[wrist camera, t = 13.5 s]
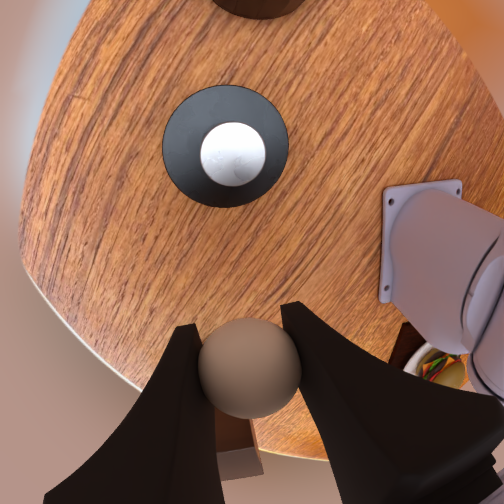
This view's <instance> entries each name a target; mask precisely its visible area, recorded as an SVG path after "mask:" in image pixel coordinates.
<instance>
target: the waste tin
mask: <svg viewBox="0 0 504 504" xmlns="http://www.w3.org/2000/svg"><path fill="white" fill-rule="evenodd" d="M213 1H214V2H215V3H216V4H217V5H218V6H220V7H221V8H223V9H224V10H226V11H228V12H230V13H232V14H235V15H237V16H241V17H245V18H250V19H272V18H277V17H281V16H284V15H286V14H288V13H290V12H292V11H293V10H295V9H297V8H298V7H299V6H300V5H301V4H302V3H303V2H304V1H305V0H213Z"/></svg>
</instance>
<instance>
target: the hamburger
mask: <svg viewBox="0 0 504 504" xmlns="http://www.w3.org/2000/svg"><path fill="white" fill-rule="evenodd" d="M460 355H461V354H460ZM460 355H455V354H449V353H446V352H443V351H441V350H438V349H437V348H435V347H433V346H432V345H430V344H429V343H428V342H427V341H426V340H425V339H424V338H423V336H422V335H421V334H420V333H419V332H418V331H417V330H416V329H415V327H414V326H413V325H412V324H411V323H410V322H408V323H403V324H402V327H401V330H400V333H399V336H398V339H397V342H396V344H395V347H394V350H393V352H392V355H391V358H390V360H389V363H388V364H390V365H392V366H394V367H396V368H398V369H400V370H403V371H405V372H408V373H410V374H413V375H415V376H418V377H420V378H423V379H426V380H428V381H431V382H434V383H437V384H441V385H444V386H448V387H452V388H455V389H459V387H460V386H461V384H462V383H463V380H464V377H465V366H464V364H463V363H462V362H461V358H460Z"/></svg>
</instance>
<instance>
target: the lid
mask: <svg viewBox="0 0 504 504" xmlns="http://www.w3.org/2000/svg"><path fill="white" fill-rule="evenodd" d="M288 149H289V141H288V134H287V129H286V126H285V123H284V121H283V119H282V117H281V115H280V113H279V112H278V110H277V109H276V108H275V107H274V106H273V104H272V103H271V102H270V101H268V100H267V99H266V98H265V97H264V96H262V95H260V94H259V93H257V92H255V91H253V90H251V89H248V88H245V87H242V86H236V85H217V86H212V87H208V88H205V89H203V90H200V91H198V92H196V93H194V94H192V95H191V96H189V97H188V98H187V99H185V100H184V101H183V102H182V103H181V104H180V105H179V106H178V107H177V108H176V110H175V111H174V112H173V114H172V115H171V117H170V119H169V121H168V123H167V125H166V128H165V131H164V135H163V141H162V154H163V160H164V164H165V168H166V170H167V172H168V175H169V176H170V178H171V180H172V181H173V183H174V184H175V185H176V186H177V188H178V189H179V190H181V191H182V192H183V193H184V194H185V195H186V196H188V197H189V198H191V199H193V200H194V201H196V202H198V203H201V204H204V205H207V206H211V207H218V208H230V207H237V206H241V205H245V204H247V203H250V202H252V201H254V200H256V199H258V198H259V197H261V196H262V195H264V194H265V193H266V192H267V191H268V190H270V189H271V188H272V186H273V185H274V184H275V183H276V182H277V180H278V179H279V177H280V176H281V174H282V172H283V170H284V167H285V164H286V161H287V157H288Z"/></svg>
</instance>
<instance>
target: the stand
mask: <svg viewBox="0 0 504 504" xmlns="http://www.w3.org/2000/svg"><path fill="white" fill-rule="evenodd" d="M215 432H216V453H217V463H218V469H219V475H220V480H221V481H225V480H233V479H239V478H246V477H252V476H257V475H262V474H264V472H263V468H262V463H261V458H260V454H259V449H258V444H257V440H256V435H255V430H254V425H253V420H252V419H243V418H237V417H234V416H231V415H228V414H226V413H224V412H222V411H221V410H219V409H218V408H216V407H215Z"/></svg>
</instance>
